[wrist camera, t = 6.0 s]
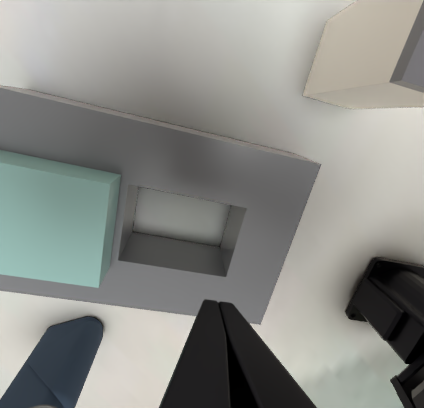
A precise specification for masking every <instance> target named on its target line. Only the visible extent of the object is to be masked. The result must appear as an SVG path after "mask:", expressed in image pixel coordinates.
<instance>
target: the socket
mask: <svg viewBox="0 0 424 408" xmlns="http://www.w3.org/2000/svg"><path fill="white" fill-rule="evenodd" d="M0 150H4V151H8V152H13V153H18V154H23V155H28V156H33V157H38V158H42V159H47V160H52V161H57V162H62V163H67V164H72V165H76V166H81V167H86V168H91V169H96V170H101V171H106V172H110V173H115V174H120V175H121V180H120V188H119V196H118V204H117V212H116V220H115V228H114V237H113V245H112V253H111V261H110V267H109V269H108V271H107V273H106V275H105V277H104V279H103V281H102V283H101V284H100V286H99V288H95V287H88V286H81V285H74V284H66V283H59V282H52V281H45V280H38V279H31V278H23V277H16V276H9V275H2V274H0V291H7V292H15V293H23V294H30V295H38V296H46V297H53V298H61V299H69V300H76V301H84V302H92V303H99V304H107V305H115V306H122V307H130V308H138V309H145V310H153V311H161V312H168V313H176V314H184V315H191V316H197V314H198V312H199V309H200V307H201V304H202V302H203V300H204V299H208V300H215V301H217V302H220V301H223V302H230V303H233V304H234V305H235V307H236V308H237V309H238V310H239V312H240V313H241V314H242V315H243V317H244V318H245V319H246V320H247V322H248V323H253V324H260V325H261V322H262V319H263V317H264V314H265V311H266V309H267V306H268V303H269V301H270V298H271V295H272V293H273V290H274V288H275V285H276V282H277V280H278V277H279V274H280V272H281V269H282V266H283V264H284V261H285V258H286V256H287V253H288V251H289V248H290V245H291V243H292V240H293V237H294V235H295V232H296V229H297V227H298V224H299V221H300V219H301V216H302V214H303V211H304V208H305V206H306V203H307V200H308V198H309V195H310V192H311V190H312V187H313V184H314V182H315V179H316V177H317V174H318V171H319V169H320V166H321V164H319V163H317V162H314V161H312V160H309V159H306V158H304V157H301V156H299V155H296V154H294V153H289V152H285V151H281V150H277V149H273V148H269V147H265V146H260V145H256V144H252V143H248V142H244V141H240V140H236V139H231V138H227V137H223V136H219V135H215V134H211V133H207V132H202V131H198V130H194V129H190V128H186V127H182V126H178V125H173V124H169V123H165V122H161V121H157V120H153V119H149V118H144V117H140V116H136V115H132V114H128V113H124V112H120V111H115V110H111V109H107V108H103V107H99V106H95V105H91V104H87V103H82V102H78V101H74V100H70V99H66V98H62V97H58V96H53V95H49V94H45V93H41V92H37V91H33V90H29V89H22V88H15V87H8V86H1V85H0ZM139 187H144V188H149V189H154V190H159V191H164V192H168V193H173V194H178V195H183V196H188V197H193V198H198V199H203V200H208V201H213V202H218V203H223V204H228V205H231V209H230V213H229V216H228V220H227V223H226V227H225V231H224V234H223V238H222V241H221V245H220V247H216V246H210V245H204V244H199V243H193V242H187V241H181V240H176V239H170V238H164V237H158V236H153V235H147V234H141V233H135V232H132V230H133V223H134V216H135V209H136V203H137V196H138V189H139Z"/></svg>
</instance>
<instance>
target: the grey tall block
mask: <svg viewBox="0 0 424 408" xmlns="http://www.w3.org/2000/svg"><path fill="white" fill-rule="evenodd" d="M302 96H305V97H309V98H312V99H316V100H319V101H323V102H326V103H330V104H334V105H337V106H341V107H344V108H348V109H370V108H411V107H424V0H357V1H355V2H354V3H352V4H351V5H349V6H348V7H346V8H345V9H343V10H342V11H340V12H339V13H338V14H336V15H335V16H333V17H332V18H330V19H329V20H327V21H326V24H325V27H324V31H323V34H322V37H321V40H320V43H319V46H318V49H317V52H316V55H315V58H314V61H313V64H312V67H311V70H310V74H309V77H308V80H307V83H306V86H305V89H304V92H303V95H302Z"/></svg>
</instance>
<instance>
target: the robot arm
mask: <svg viewBox="0 0 424 408" xmlns="http://www.w3.org/2000/svg"><path fill="white" fill-rule="evenodd" d="M378 263H379V264H378ZM346 315H347V317H348V318H349V319H351V320H357V321H364V322H369V324H370V325H371V326H372V327H373V328H374V329H375V331H376V332H377V333H378V334H379V335H380V337H381V338H382V339H383V340H385V341H387V343H388V344H389V345H390V346H391V347H392V348H393V350H394V351H395V352H396V353H397V354H398V356H399V357H400V358H401V359H402V360H403V361H404V363H405V364H410V365H408V366H407V367H406V368H405V369H404V370H403V371H402V372H401V373H400V374H399V375H398V376H396V375H395V376H394V377H393V378H392V379H391V380H390V381H391V383H392V384H393V386H394V388H395V390H396V392H397V395H398V397H399V398H400V400H401V402H402V404H403V406H404V408H424V266H422V265H416V264H411V263H406V262H400V261H395V260H390V259H384V258H374V259H373V260H372V261H371V263H370V265H369V267H368V269H367V271H366V273H365V275H364V277H363V279H362V281H361V283H360V285H359V287H358V289H357V291H356V293H355V295H354V297H353V299H352V301H351V303H350V305H349V307H348V309H347V311H346ZM159 408H317V407H316V406H315V405H314V403H313V402H312V401H311V400H310V398H309V397H308V396H307V395H306V394H305V392H304V391H303V390H302V389H301V387H300V386H299V385H298V384H297V382H296V381H295V380H294V379H293V377H292V376H291V375H290V374H289V372H288V371H287V370H286V369H285V367H284V366H283V365H282V364H281V362H280V361H279V360H278V359H277V358H276V356H275V355H274V354H273V353H272V351H271V350H270V349H269V348H268V346H267V345H266V344H265V343H264V341H263V340H262V339H261V338H260V336H259V335H258V334H257V333H256V331H255V330H254V329H253V328H252V326H251V325H250V324H249V323H248V322H247V320H246V319H245V318H244V317H243V315H242V314H241V313H240V312H239V310H238V309H237V308H236V307H235V305H234V304H233V303H230V302H223V301H220V302H217V301H215V300H208V299H204V300H203V302H202V304H201V307H200V309H199V312H198V314H197V316H196V319H195V321H194V324H193V326H192V329H191V331H190V333H189V336H188V338H187V341H186V343H185V346H184V348H183V350H182V353H181V355H180V358H179V360H178V363H177V365H176V367H175V370H174V372H173V375H172V377H171V380H170V382H169V384H168V387H167V389H166V392H165V394H164V397H163V399H162V401H161V404H160V406H159Z"/></svg>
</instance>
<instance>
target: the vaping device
mask: <svg viewBox="0 0 424 408" xmlns="http://www.w3.org/2000/svg"><path fill="white" fill-rule="evenodd" d="M102 337H103V327H102V324H101V323H100V322H99V321H98V320H97V319H96V318H93V317H84V318H80V319H76V320H73V321H69V322H65V323H62V324H58V325H54V326H51V327H49V328H48V329H47V330H46V332H45V333H44V335H43V336H42V338H41V339H40V341H39V342H38V344H37V345H36V347H35V348H34V350H33V351H32V353H31V354H30V356H29V357H28V359H27V360H26V362H25V363H24V365H23V366H22V368H21V369H20V371H19V372H18V374H17V375H16V377H15V378H14V380H13V381H12V383H11V384H10V386H9V387H8V389H7V390H6V392H5V393H4V395H3V396H2V398H1V399H0V408H75V406H76V403H77V401H78V398H79V396H80V393H81V391H82V388H83V386H84V383H85V381H86V378H87V376H88V373H89V371H90V368H91V365H92V363H93V360H94V358H95V355H96V353H97V350H98V348H99V345H100V343H101V340H102Z"/></svg>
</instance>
